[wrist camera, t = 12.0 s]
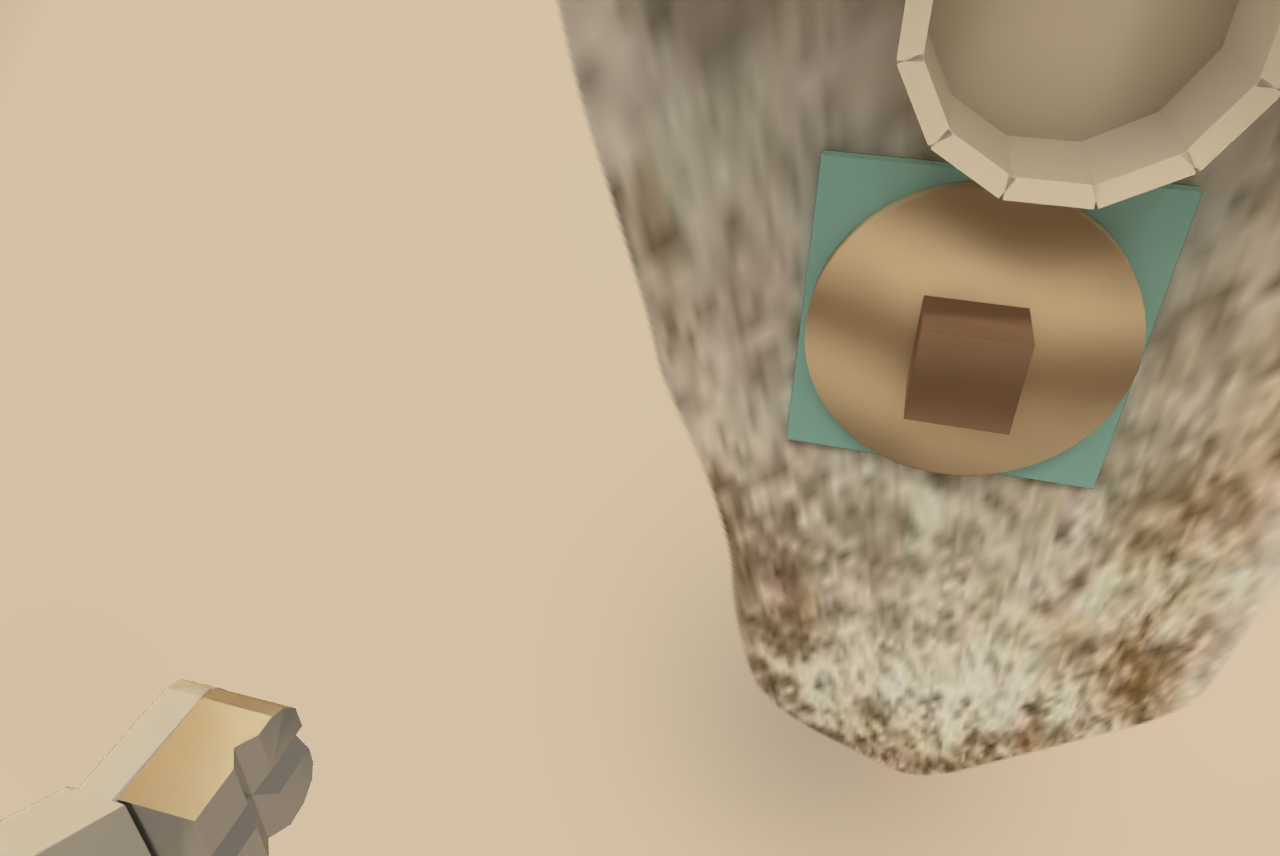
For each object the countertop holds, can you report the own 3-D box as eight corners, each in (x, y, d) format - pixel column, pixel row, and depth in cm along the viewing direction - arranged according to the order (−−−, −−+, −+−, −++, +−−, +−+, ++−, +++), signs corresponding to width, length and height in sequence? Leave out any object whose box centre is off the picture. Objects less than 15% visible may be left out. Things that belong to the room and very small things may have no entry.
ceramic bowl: (940, -208, 30) (938, -207, 25) (1329, -203, 27) (1401, -201, 23) (885, 137, 36) (875, 187, 31) (1197, 166, 33) (1233, 223, 29)
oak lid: (827, 163, 36) (814, 201, 33) (1189, 198, 34) (1215, 243, 30) (793, 434, 44) (780, 487, 40) (1087, 481, 41) (1099, 543, 38)
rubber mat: (823, 150, 37) (821, 155, 36) (1199, 186, 34) (1202, 192, 33) (788, 431, 44) (786, 438, 44) (1091, 480, 42) (1093, 489, 41)
